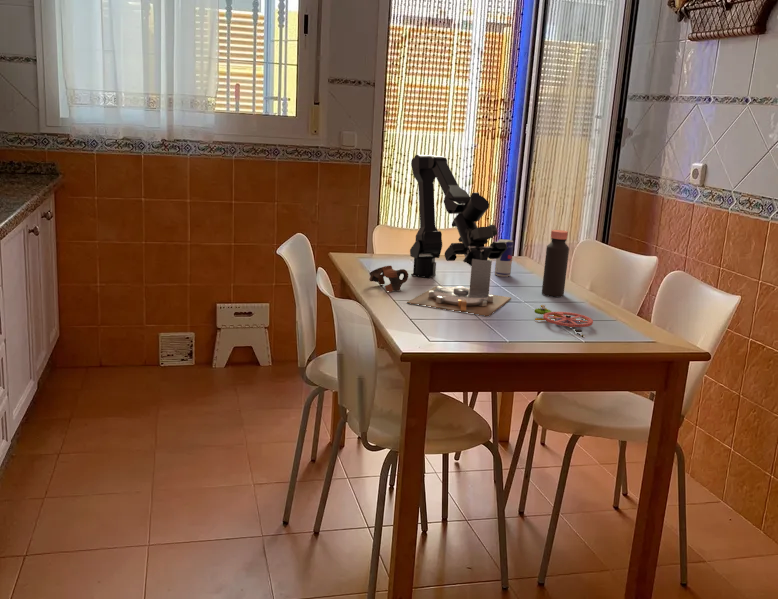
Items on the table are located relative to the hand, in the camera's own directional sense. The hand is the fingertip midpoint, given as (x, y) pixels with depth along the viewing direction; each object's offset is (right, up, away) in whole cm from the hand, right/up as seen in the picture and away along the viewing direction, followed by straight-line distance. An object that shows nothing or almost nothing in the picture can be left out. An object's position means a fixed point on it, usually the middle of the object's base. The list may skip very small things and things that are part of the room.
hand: (485, 275), depth 231 cm
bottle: (+23, -6, +18) cm, 30 cm away
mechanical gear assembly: (+19, -14, -12) cm, 26 cm away
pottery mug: (-28, -4, +13) cm, 31 cm away
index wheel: (-7, -7, +3) cm, 10 cm away
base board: (-7, -7, +3) cm, 10 cm away
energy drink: (+11, +1, +42) cm, 43 cm away
